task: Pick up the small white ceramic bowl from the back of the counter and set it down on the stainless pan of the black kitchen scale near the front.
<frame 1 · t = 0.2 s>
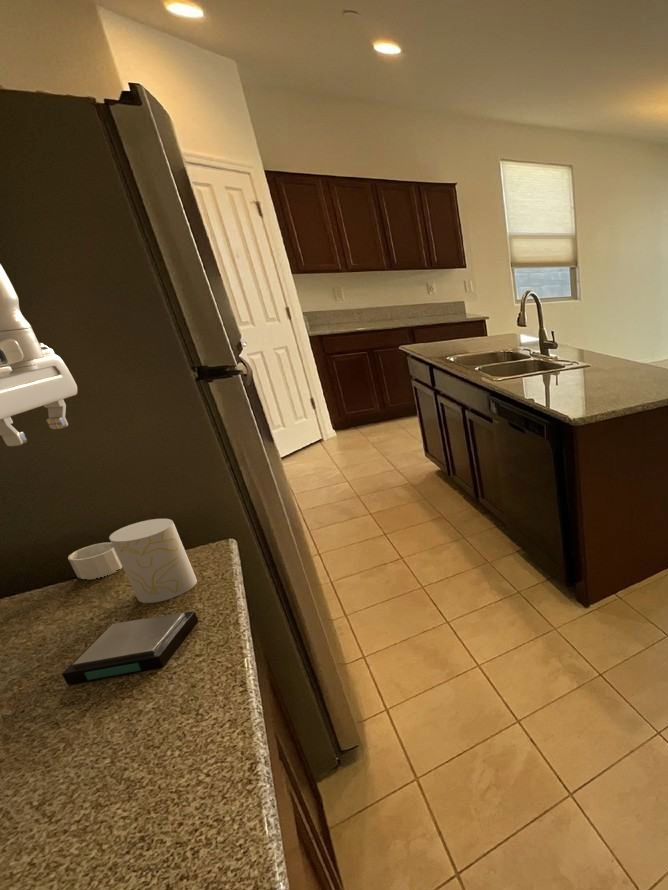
hand: (40, 435, 85), 28 cm above the countertop, tool pointing down, fingers open, 8 cm apart
bowl: (102, 571, 98), on the countertop
cup: (168, 590, 93), on the countertop
scale: (138, 650, 78), on the countertop
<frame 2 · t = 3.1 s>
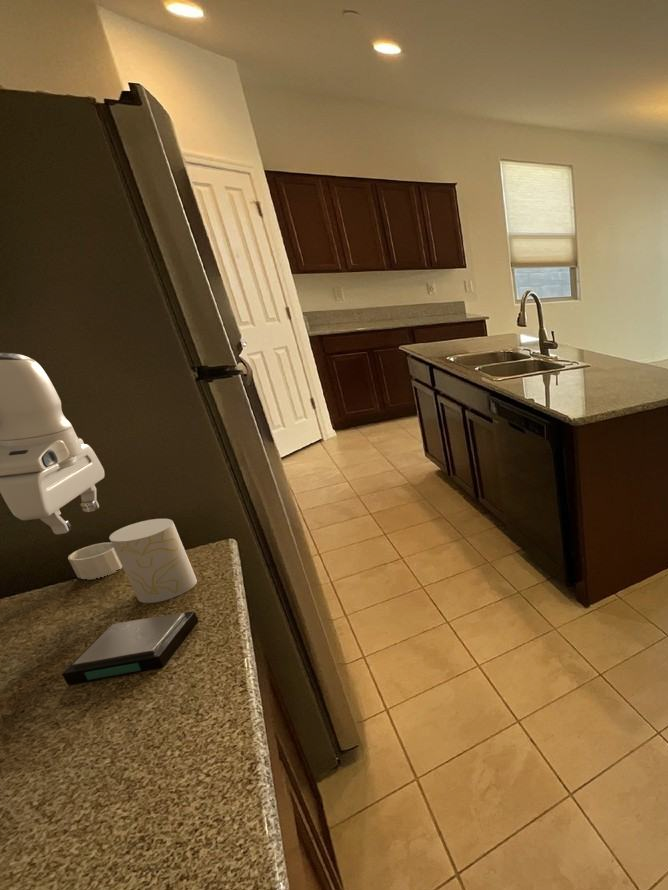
hand: (78, 520, 94), 11 cm above the countertop, tool pointing down, fingers open, 8 cm apart
nothing on the countertop moved.
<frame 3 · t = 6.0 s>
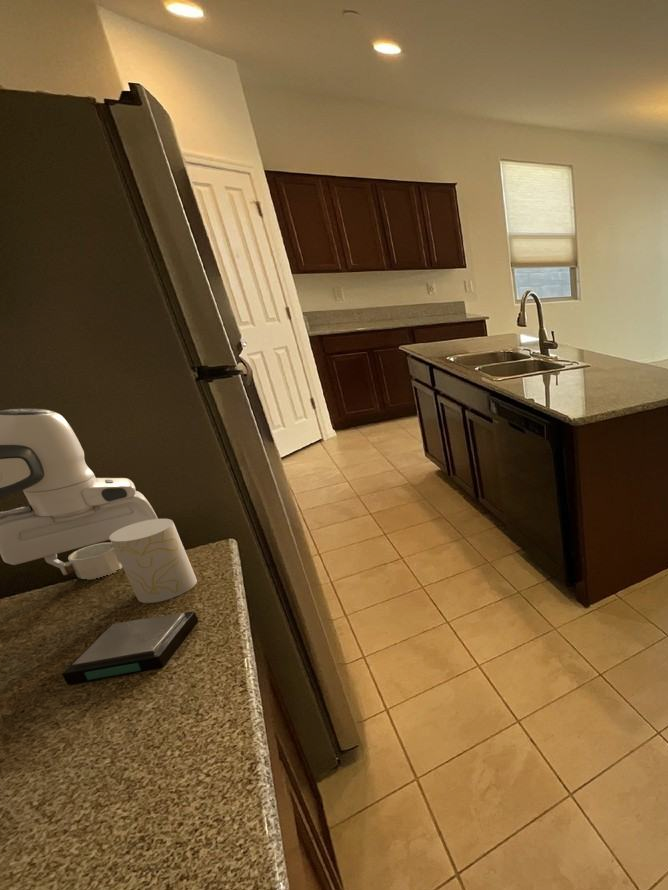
hand: (99, 564, 97), 2 cm above the countertop, tool pointing down, fingers closed on bowl, 6 cm apart
bowl: (102, 571, 98), on the countertop, touching gripper
everything else where it was.
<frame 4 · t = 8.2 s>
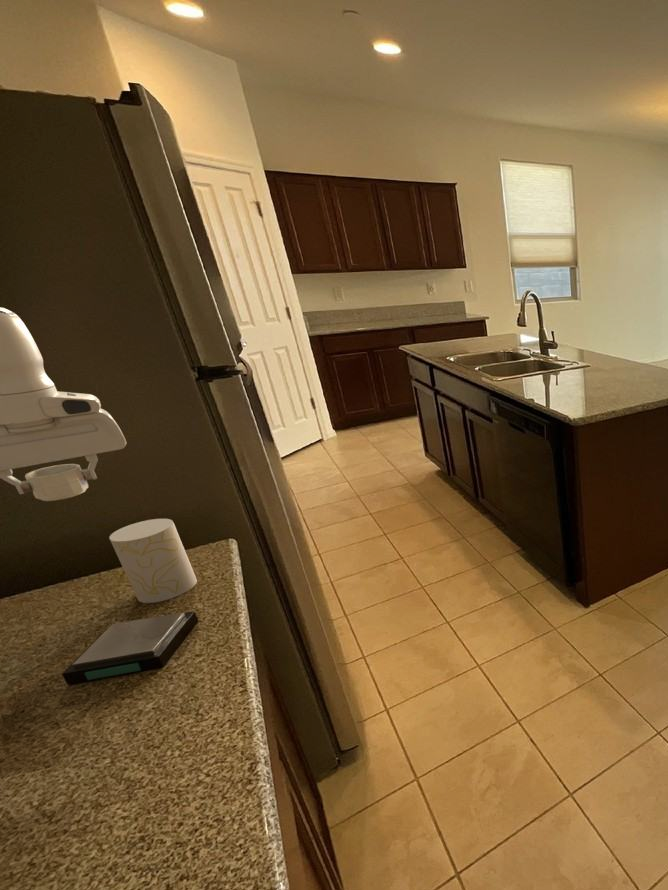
hand: (60, 485, 90), 18 cm above the countertop, tool pointing down, fingers closed on bowl, 6 cm apart
bowl: (64, 494, 91), point 17 cm above the countertop, touching gripper
everything else where it was.
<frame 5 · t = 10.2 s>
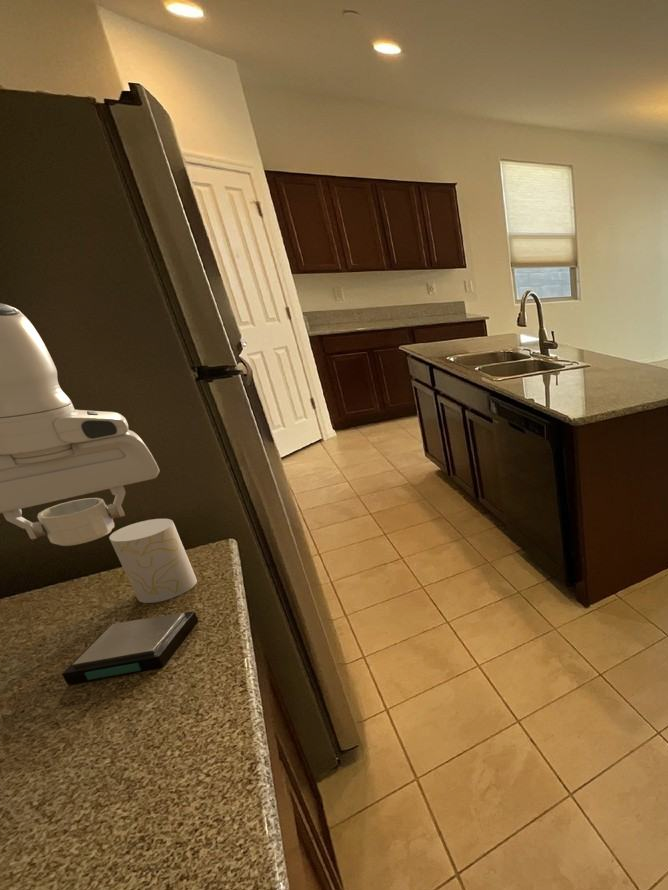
hand: (80, 525, 73), 19 cm above the countertop, tool pointing down, fingers closed on bowl, 6 cm apart
bowl: (85, 536, 73), point 18 cm above the countertop, touching gripper
everything else where it was.
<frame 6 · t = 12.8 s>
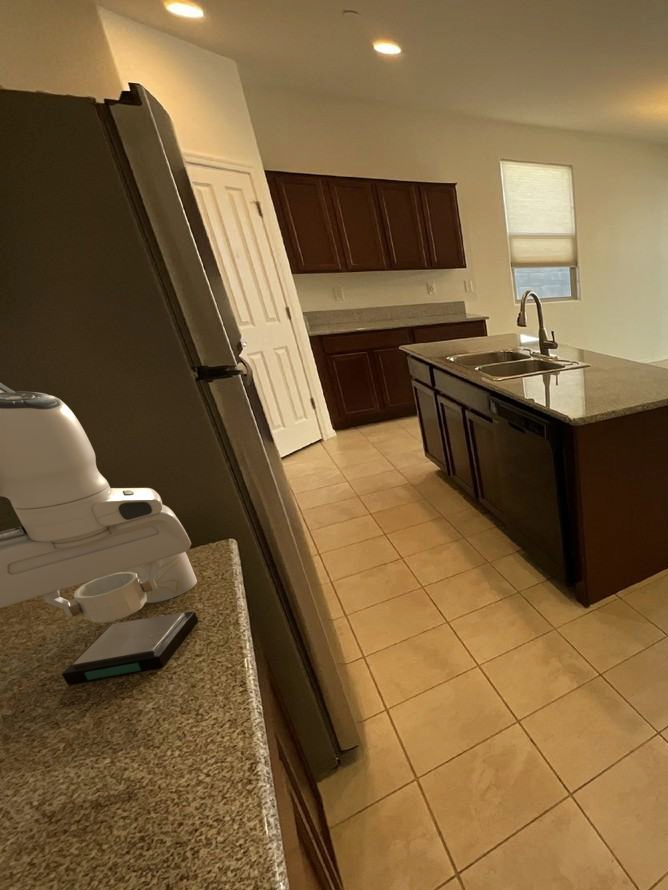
hand: (115, 601, 74), 9 cm above the countertop, tool pointing down, fingers closed on bowl, 6 cm apart
bowl: (119, 610, 75), point 7 cm above the countertop, touching gripper
everything else where it was.
when the fingers open (4 cm above the countertop, at t = 14.6 s): bowl stays where it is, resting on scale.
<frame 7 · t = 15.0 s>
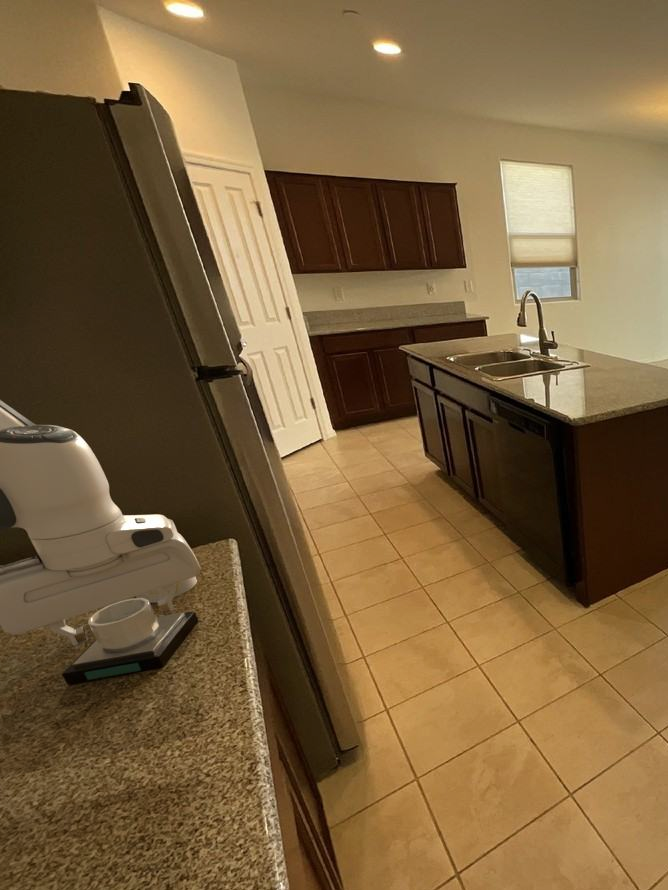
hand: (126, 625, 76), 5 cm above the countertop, tool pointing down, fingers open, 8 cm apart
bowl: (131, 636, 77), point 3 cm above the countertop, touching scale
everything else where it was.
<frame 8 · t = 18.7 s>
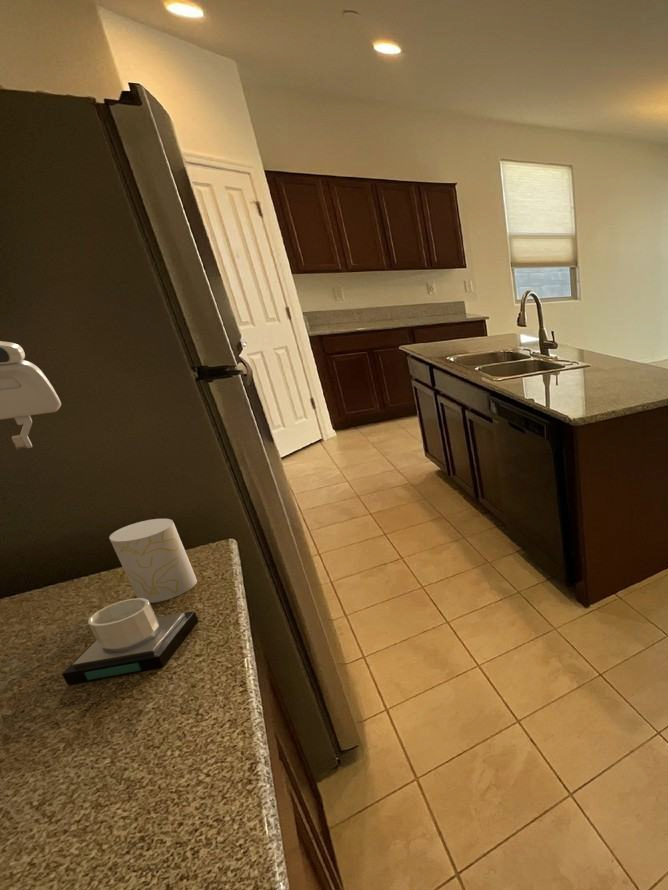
nothing on the countertop moved.
at the end: bowl 0.1 cm off-centre on the scale, point 2.6 cm above the scale's base; bowl tilted 0°; the gripper is holding nothing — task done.
